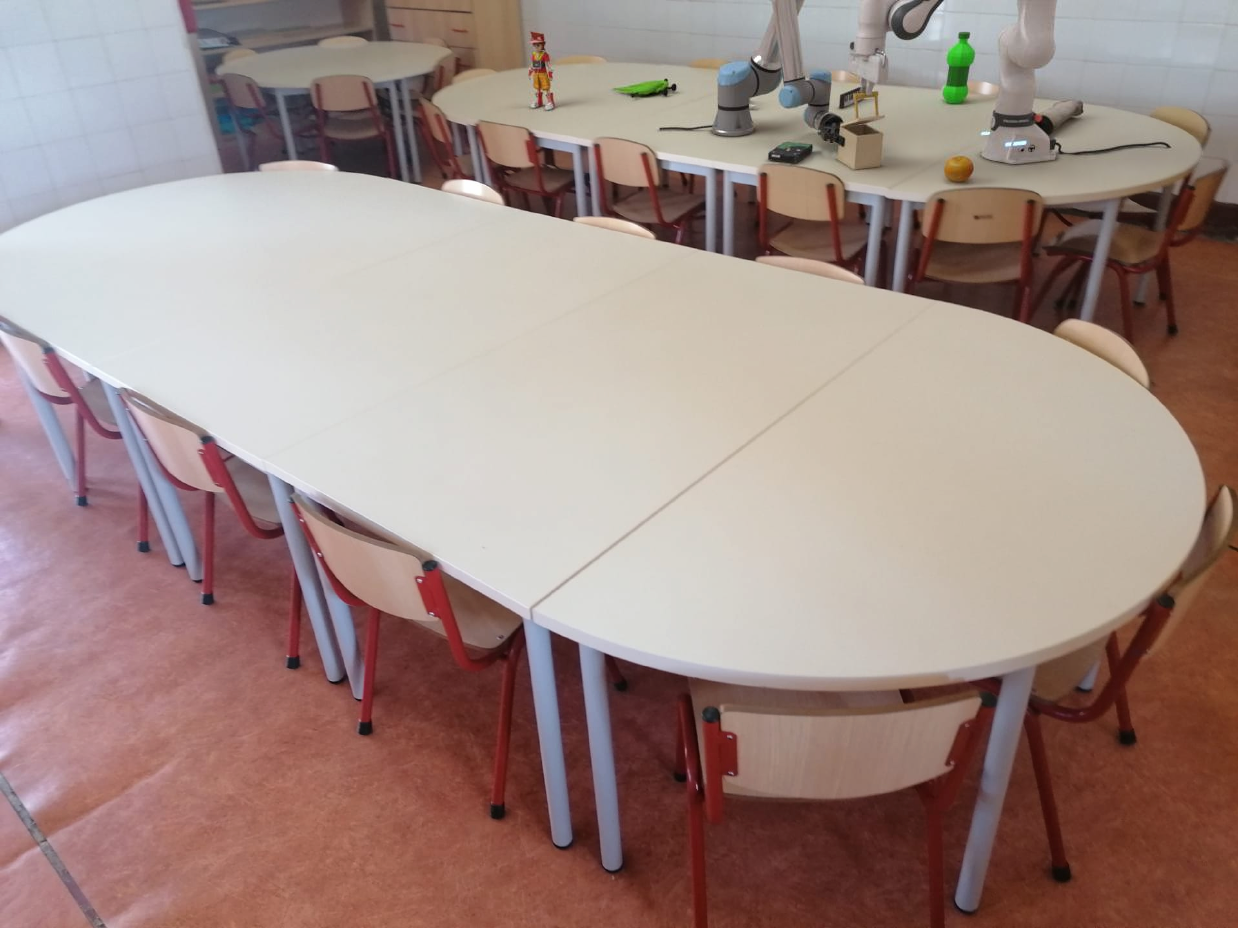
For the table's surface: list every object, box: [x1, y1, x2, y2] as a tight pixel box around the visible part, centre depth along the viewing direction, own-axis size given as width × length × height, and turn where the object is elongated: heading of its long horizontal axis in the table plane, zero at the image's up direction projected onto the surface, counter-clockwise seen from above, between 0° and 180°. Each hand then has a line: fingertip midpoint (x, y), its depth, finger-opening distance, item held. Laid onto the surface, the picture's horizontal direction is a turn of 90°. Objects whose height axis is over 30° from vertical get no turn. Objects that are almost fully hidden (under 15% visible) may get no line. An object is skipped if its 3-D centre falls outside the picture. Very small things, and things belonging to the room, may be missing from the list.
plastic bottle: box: [942, 31, 976, 104], centre depth 348 cm, size 10×10×25 cm
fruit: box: [943, 155, 975, 183], centre depth 275 cm, size 8×8×8 cm
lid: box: [840, 90, 886, 127], centre depth 289 cm, size 13×9×9 cm
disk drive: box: [767, 141, 814, 164], centre depth 306 cm, size 10×3×15 cm
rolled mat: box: [1035, 99, 1084, 136], centre depth 319 cm, size 30×9×10 cm
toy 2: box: [612, 78, 677, 99], centre depth 396 cm, size 28×5×30 cm
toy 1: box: [527, 31, 556, 111], centre depth 374 cm, size 12×9×30 cm
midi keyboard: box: [838, 86, 865, 109], centre depth 359 cm, size 18×1×5 cm, turn 138°
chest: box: [836, 123, 884, 171], centre depth 294 cm, size 13×9×10 cm
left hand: (857, 140), depth 295 cm, fingers closed on chest, 9 cm apart
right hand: (866, 93), depth 284 cm, fingers closed
